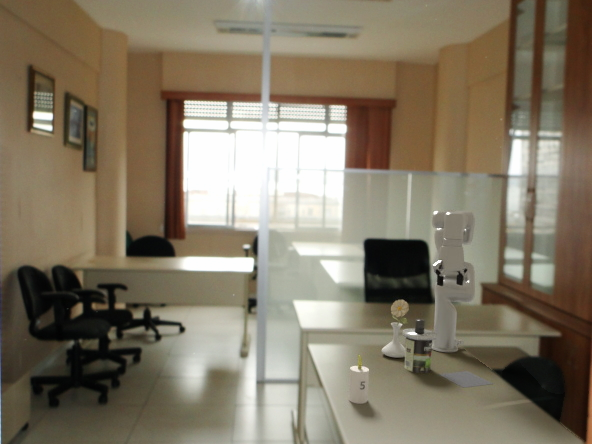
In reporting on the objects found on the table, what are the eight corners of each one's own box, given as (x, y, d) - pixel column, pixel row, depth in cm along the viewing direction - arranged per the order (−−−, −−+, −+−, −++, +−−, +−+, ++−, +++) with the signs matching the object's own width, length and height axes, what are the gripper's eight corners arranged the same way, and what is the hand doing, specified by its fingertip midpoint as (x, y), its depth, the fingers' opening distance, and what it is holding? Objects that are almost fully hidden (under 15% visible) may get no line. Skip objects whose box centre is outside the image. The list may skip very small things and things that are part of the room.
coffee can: (434, 370, 208) (436, 335, 207) (423, 377, 200) (426, 341, 199) (410, 364, 214) (412, 330, 213) (399, 371, 206) (401, 335, 205)
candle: (352, 404, 171) (355, 359, 171) (345, 396, 178) (348, 353, 177) (370, 403, 173) (373, 358, 172) (363, 395, 179) (365, 352, 179)
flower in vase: (376, 353, 228) (379, 296, 226) (397, 350, 233) (401, 294, 231) (393, 362, 216) (397, 302, 215) (416, 359, 221) (419, 301, 219)
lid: (422, 330, 215) (423, 315, 214) (443, 339, 203) (444, 323, 202) (395, 332, 210) (396, 317, 209) (415, 341, 198) (416, 325, 197)
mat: (467, 373, 207) (467, 371, 207) (493, 386, 194) (493, 383, 194) (438, 376, 201) (438, 374, 201) (462, 390, 188) (462, 387, 188)
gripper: (463, 242, 218) (460, 283, 219) (428, 242, 212) (426, 284, 213) (476, 244, 211) (473, 286, 213) (440, 244, 205) (438, 287, 206)
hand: (449, 285), depth 213 cm, fingers open, 9 cm apart
